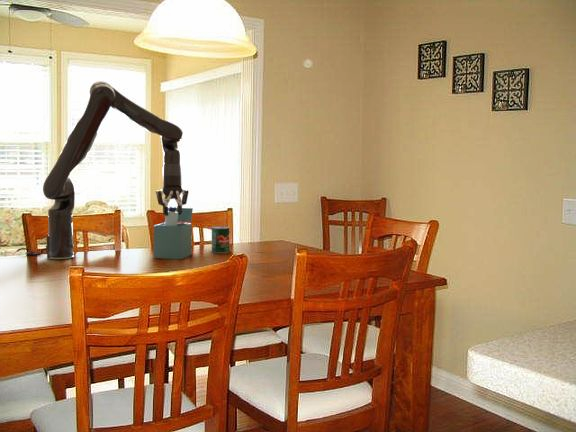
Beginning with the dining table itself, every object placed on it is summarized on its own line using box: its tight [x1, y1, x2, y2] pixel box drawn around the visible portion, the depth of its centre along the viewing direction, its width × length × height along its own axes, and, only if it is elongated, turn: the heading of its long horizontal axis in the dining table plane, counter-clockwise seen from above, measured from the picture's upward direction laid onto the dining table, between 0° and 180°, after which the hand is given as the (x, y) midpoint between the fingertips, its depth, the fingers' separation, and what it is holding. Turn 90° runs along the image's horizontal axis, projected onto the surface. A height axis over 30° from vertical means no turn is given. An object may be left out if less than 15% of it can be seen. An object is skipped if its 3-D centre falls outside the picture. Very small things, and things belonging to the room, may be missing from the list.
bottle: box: [164, 206, 178, 226], centre depth 252 cm, size 5×5×12 cm
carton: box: [153, 221, 192, 260], centre depth 252 cm, size 12×12×14 cm
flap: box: [164, 207, 194, 223], centre depth 258 cm, size 12×6×1 cm
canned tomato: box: [211, 225, 230, 254], centre depth 266 cm, size 8×8×11 cm
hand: (172, 215), depth 251 cm, fingers closed on bottle, 5 cm apart
